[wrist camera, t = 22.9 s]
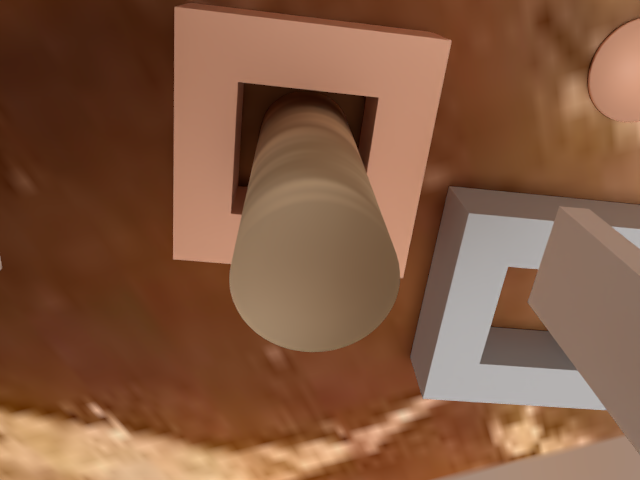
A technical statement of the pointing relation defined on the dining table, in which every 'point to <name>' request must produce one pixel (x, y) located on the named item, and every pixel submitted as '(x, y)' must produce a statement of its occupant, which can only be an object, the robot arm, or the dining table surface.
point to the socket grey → (482, 297)
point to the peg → (311, 233)
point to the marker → (617, 74)
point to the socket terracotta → (302, 73)
